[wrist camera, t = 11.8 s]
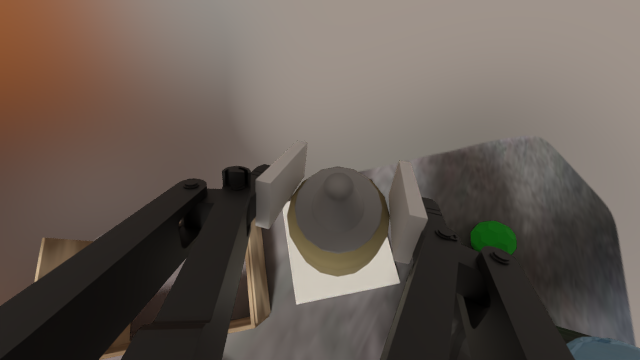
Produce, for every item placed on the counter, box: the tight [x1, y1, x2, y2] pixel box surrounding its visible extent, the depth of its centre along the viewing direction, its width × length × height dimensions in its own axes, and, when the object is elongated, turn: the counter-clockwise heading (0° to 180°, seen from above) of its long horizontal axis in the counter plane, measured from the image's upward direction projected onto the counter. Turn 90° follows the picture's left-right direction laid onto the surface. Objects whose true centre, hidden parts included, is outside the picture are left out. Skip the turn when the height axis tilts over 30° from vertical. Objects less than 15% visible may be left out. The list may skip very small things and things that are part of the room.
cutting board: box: [283, 201, 400, 304], centre depth 35 cm, size 14×14×1 cm
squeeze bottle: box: [287, 167, 390, 277], centre depth 18 cm, size 8×8×18 cm
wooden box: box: [34, 218, 271, 360], centre depth 29 cm, size 14×20×12 cm
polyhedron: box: [471, 221, 517, 255], centre depth 32 cm, size 5×5×5 cm
